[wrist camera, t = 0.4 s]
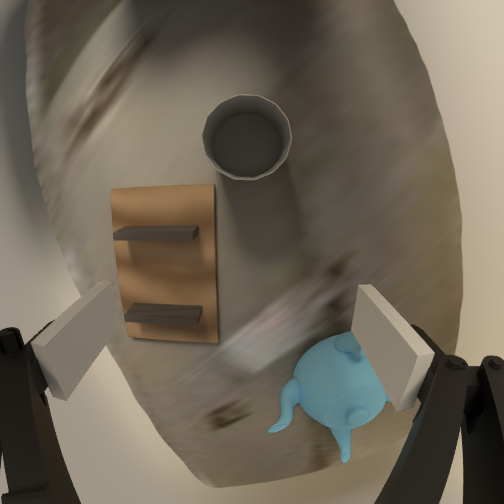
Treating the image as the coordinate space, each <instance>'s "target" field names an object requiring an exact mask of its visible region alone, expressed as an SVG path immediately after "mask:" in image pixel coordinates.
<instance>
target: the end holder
mask: <svg viewBox="0 0 504 504" xmlns="http://www.w3.org/2000/svg"><path fill="white" fill-rule="evenodd" d="M111 208H112V223H113V238H114V246H115V255H116V264H117V272H118V279H119V286H120V293H121V299H122V305H123V311H124V318H125V322H126V327H127V332H128V337H135V338H146V339H158V340H172V341H189V342H211V343H218V341H219V330H218V307H217V278H216V236H215V185H180V186H154V187H135V188H119V189H111Z"/></svg>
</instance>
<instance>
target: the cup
mask: <svg viewBox="0 0 504 504" xmlns="http://www.w3.org/2000/svg"><path fill="white" fill-rule="evenodd" d="M201 140H202V145H203V151H204V155H205V156H206V157H207V159H208V160H209V161H210V163H211V164H212V165H213V167H214V168H215V169H216V170H217V171H219V172H220V173H222V174H224V175H226V176H228V177H230V178H232V179H234V180H257V179H259V178H262V177H264V176H266V175H269V174H271V173H274V172H275V170H276V169H277V168H278V167H279V166H280V165H281V164H282V163H283V162H284V161H285V160H286V158H287V156H288V153H289V149H290V146H291V142H292V134H291V128H290V123H289V119H288V118H287V117H286V115H285V114H284V113H283V111H282V110H281V109H280V107H279V106H278V105H277V104H276V103H274V102H272V101H270V100H268V99H266V98H264V97H262V96H260V95H252V94H237V95H235V96H232V97H230V98H227V99H225V100H223V101H220V102H219V103H218V104H217V105H216V106H215V107H214V108H213V109H212V111H211V112H210V113H209V114H208V115H207V116H206V119H205V122H204V125H203V129H202V132H201Z"/></svg>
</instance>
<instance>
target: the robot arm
mask: <svg viewBox="0 0 504 504" xmlns="http://www.w3.org/2000/svg"><path fill="white" fill-rule="evenodd" d="M119 326H120V325H119V320H118V314H117V309H116V303H115V298H114V292H113V285H112V281H99V282H98V283H97V284H96V285H95V286H93V287H92V288H91V289H90V290H89V291H87V292H86V293H85V294H84V295H83V296H82V297H81V298H79V299H78V300H77V301H76V302H75V303H74V304H72V305H71V306H70V307H69V308H68V309H67V310H66V311H65V312H63V313H62V314H61V315H60V316H59V317H58V318H57V319H55V320H53V321H51V322H49V323H48V324H47V325H46V326H45V327H44V328H43V330H40V331H39V332H38V334H36V335H35V336H34V337H33V338H32V339H31V340H30V341H28V342H27V343H26V344H25V345H24V342H23V339H22V336H21V333H20V330H19V329H17V328H14V327H10V328H5V329H2V330H1V331H0V467H1V457H2V453H3V460H4V467H5V473H6V478H7V484H8V489H9V492H8V493H5V494H2V497H1V499H2V504H81V502H80V500H79V497H78V495H77V493H76V490H75V488H74V486H73V483H72V480H71V478H70V475H69V473H68V470H67V467H66V464H65V461H64V458H63V456H62V453H61V449H60V446H59V443H58V439H57V436H56V432H55V429H54V425H53V421H52V417H51V413H50V409H49V404H48V400H47V397H46V395H45V392H44V391H45V390H46V389H47V387H49V389H50V391H51V394H52V396H53V397H55V398H58V399H62V400H65V401H67V400H68V398H69V397H70V395H71V394H72V392H73V391H74V389H75V388H76V386H77V385H78V383H79V382H80V380H81V379H82V377H83V376H84V375H85V373H86V372H87V370H88V369H89V367H90V366H91V365H92V363H93V362H94V360H95V359H96V358H97V356H98V355H99V353H100V352H101V350H102V349H103V348H104V347H105V345H106V344H107V342H108V341H109V340H110V338H111V337H112V336H113V334H114V333H115V332H116V330H117V329H118V328H119ZM351 331H352V333H353V334H354V336H355V338H356V340H357V341H358V343H359V345H360V347H361V348H362V350H363V352H364V354H365V355H366V357H367V359H368V361H369V362H370V364H371V366H372V368H373V369H374V371H375V373H376V375H377V377H378V378H379V380H380V382H381V384H382V386H383V387H384V389H385V391H386V393H387V395H388V397H389V399H390V400H391V402H392V404H393V406H394V408H395V410H396V412H397V411H401V410H406V409H410V408H413V406H414V403H415V401H416V399H417V397H418V399H419V400H420V402H421V405H420V407H419V409H418V411H417V413H416V415H415V417H414V419H413V421H412V422H414V423H413V425H412V428H411V430H410V433H409V435H408V437H407V440H406V442H405V444H404V447H403V449H402V451H401V453H400V455H399V458H398V460H397V462H396V464H395V466H394V468H393V470H392V472H391V474H390V476H389V478H388V480H387V482H386V483H385V485H384V487H383V489H382V491H381V493H380V495H379V496H378V498H377V500H376V501H375V503H374V504H439V502H440V499H441V496H442V494H443V491H444V488H445V485H446V482H447V478H448V475H449V472H450V468H451V465H452V461H453V458H454V454H455V450H456V446H457V441H458V436H459V432H460V427H461V435H462V447H463V448H462V449H463V481H464V482H463V504H504V360H503V359H502V358H500V357H498V356H486V357H484V359H483V361H482V363H481V365H480V366H468V364H467V363H466V361H465V360H464V359H462V358H460V357H458V356H455V355H445V353H444V352H443V351H442V350H441V349H440V348H439V347H438V346H437V345H436V344H435V343H434V342H432V339H431V338H430V337H428V335H427V334H426V333H425V332H424V331H423V330H422V329H421V328H419V327H417V326H415V325H409V324H408V323H407V322H406V320H405V319H404V318H403V317H402V316H401V315H400V314H399V313H398V312H397V311H396V310H395V309H394V308H393V307H392V305H391V304H390V303H389V302H388V301H387V300H386V299H385V298H384V297H383V296H382V295H381V294H380V293H379V292H378V291H377V290H376V289H375V288H374V287H373V286H372V285H371V284H369V285H358V290H357V297H356V303H355V310H354V315H353V321H352V327H351Z"/></svg>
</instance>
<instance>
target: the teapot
mask: <svg viewBox="0 0 504 504" xmlns="http://www.w3.org/2000/svg"><path fill="white" fill-rule="evenodd" d="M386 401H388V402H391V400H390V399H389V397H388V395H387V393H386V391H385V389H384V387H383V386H382V384H381V382H380V380H379V378H378V377H377V375H376V373H375V371H374V369H373V368H372V366H371V364H370V362H369V361H368V359H367V357H366V355H365V354H364V352H363V350H362V348H361V347H360V345H359V343H358V341H357V340H356V338H355V336H354V334H353V333H352V331H347V332H344V333H343V334H338V335H335V336H331V337H329V338H326V339H324V340H322V341H320V342H318V343H317V344H315V345H314V346H312V347H311V348H310V349H309V350H308V351H307V352H306V353H305V354H304V355H303V356H302V357H301V358H300V360H299V361H298V363H297V365H296V367H295V370H294V372H293V376H292V379H290V380H289V381H288V382H287V383H286V384H285V385H284V387H283V389H282V391H281V395H280V408H281V414H280V418H279V420H278V421H277V422H276V423H275V424H274V425H273V426H272V427H270V428H269V429H268V433H274V432H278V431H280V430H283V429H284V428H286V427H287V426H289V424H290V423H291V421H292V418H293V407H294V406H295V405H296V404H297V403H299V404H300V406H301V407H302V409H303V410H304V411H305V412H306V413H307V414H308V415H309V416H310V417H312V418H313V419H314V420H316V421H318V422H319V423H321V424H323V425H325V426H327V427H329V428H330V430H331V432H332V434H333V436H334V437H335V439H336V441H337V443H338V445H339V448H340V452H341V461H342V463H347V462H348V460H349V459H350V455H351V429H353V428H357V427H360V426H362V425H364V424H366V423H368V422H369V421H371V420H372V419H373V418H375V417H376V416H377V415H378V414H379V413H380V411H381V410H382V408H383V407H384V405H385V402H386Z"/></svg>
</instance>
